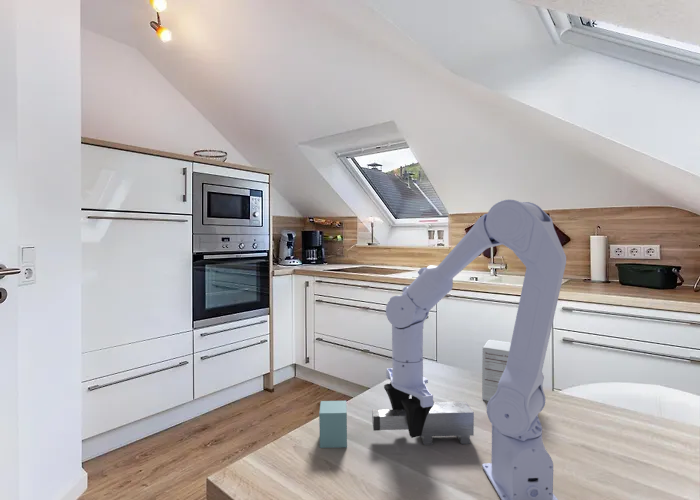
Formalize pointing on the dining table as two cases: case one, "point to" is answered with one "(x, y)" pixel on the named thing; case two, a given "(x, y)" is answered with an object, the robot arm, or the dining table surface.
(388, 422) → the extension bar
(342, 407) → the socket
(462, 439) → the sleeve
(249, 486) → the dining table surface
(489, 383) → the supplement box
